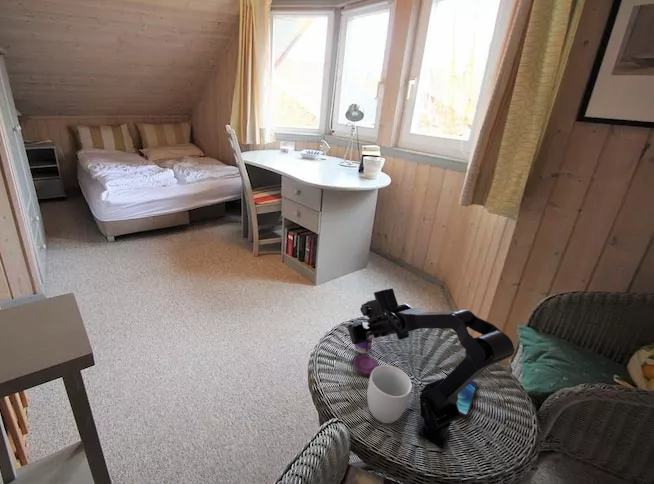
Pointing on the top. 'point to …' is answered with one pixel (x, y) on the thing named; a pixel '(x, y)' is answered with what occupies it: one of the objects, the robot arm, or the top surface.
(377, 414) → the mug
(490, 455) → the top surface
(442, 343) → the top surface
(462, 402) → the smartphone
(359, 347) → the pill bottle
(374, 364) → the plum saucer
